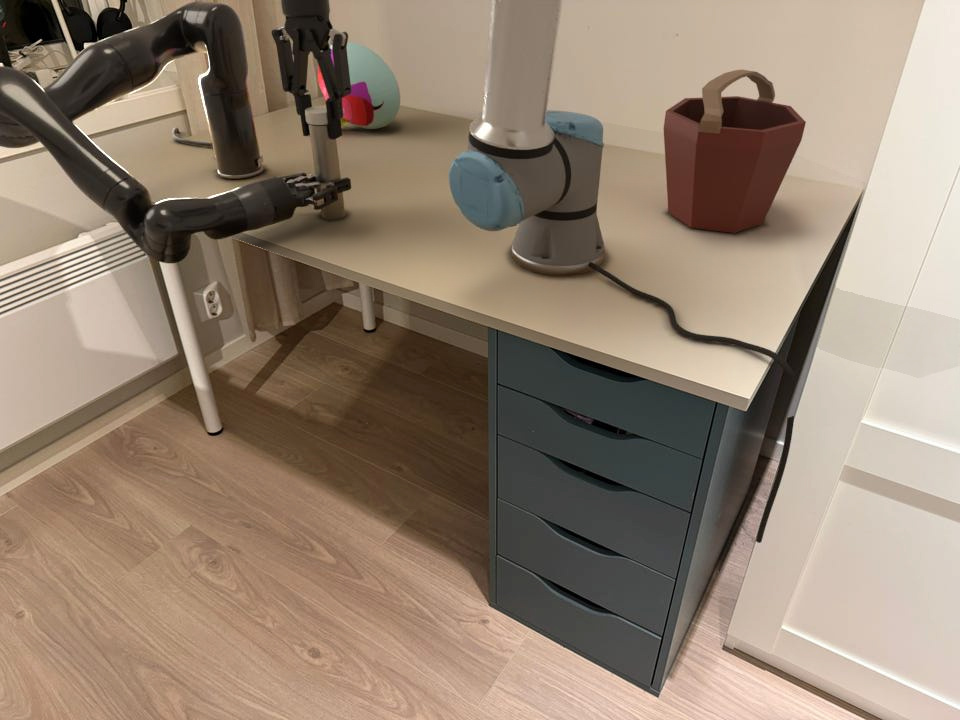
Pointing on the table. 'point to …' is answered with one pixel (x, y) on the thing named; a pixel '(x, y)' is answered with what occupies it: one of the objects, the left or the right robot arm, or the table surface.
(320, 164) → the tan tube
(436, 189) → the table surface
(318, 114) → the lid
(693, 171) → the bucket
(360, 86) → the toy
